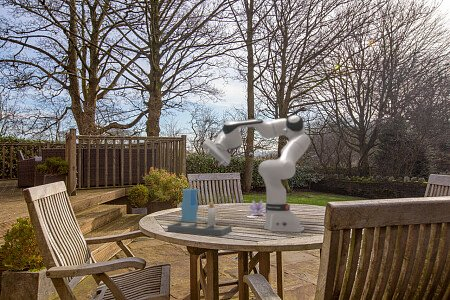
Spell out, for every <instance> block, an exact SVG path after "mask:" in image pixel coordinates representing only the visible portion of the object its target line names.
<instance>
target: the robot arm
mask: <svg viewBox="0 0 450 300" xmlns="http://www.w3.org/2000/svg"><path fill="white" fill-rule="evenodd" d="M304 123H305V121H304V119H303V117H302V116H301V115H298V114H293V115H290V116H288V117H287V118H285V117H283V118H275V119H272V120H263V119H262V118H251V119H243V120H242V119H241V120H228V121H226V122H224V123H223V125H222V129H221V130H222V132H221V133H219V134H218V135H217V136H216V137H215V140H214V142H213V140H211V139H210V138H205V140H204V143H203V144H202V145H201V147H202V148H203V149H204V150H205V152H206V153H205V155H206V156H210V155H211V156H213V158H214V159H215V160H217V161H218V162H217V166H224V167H227V166H228V165H229V164H230V163H231V161H232V159H231V156H232V152H231V151H235V150H238V149H240V147H242V145H243V138H242V136H241V133H240V129H243V128H244V129H245V128H254V129H255V130H256V131H257V132H258V133H259V134H260V135H261V137H263V138H265V139H269V140H270V139H273V138H277V137H281V136H285V140H286V141H288V142H287V143H286V144H285V145H284V146H283V148H281V149H280V157H278V158H277V159H266V160H264V161H262V162H260V164H259V165H258V174H259V175H260V176H261V177H262V179H263V182H264V186H265V190H266V191H265V192H266V203H265V207H266V209H265V215H266V216H265V222H264V226H263V229H265V230H266V231H267V230H268V231H270V232H281V233H282V232H284V233H286V232H287V233H301V232H303V231H305V227H304V226H302V225H301V222H300V221H301V220H300V218H299V217H298V216H297V215H296V214H294V212H292V211H291V210H290V209H291V205H290V204H288V203H287V189H286V188H285V187H284V185H283V183H282V180H288V179H292V177H294V176H295V173H296V171H297V170H296V163H297V162H298V160H299V159H301V157H302V156H303V155H304V153H305V152H306V151H307V149H308V148H309V146H310V145H311V138H310V136H309V135H308V134H306V129H305V124H304Z"/></svg>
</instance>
